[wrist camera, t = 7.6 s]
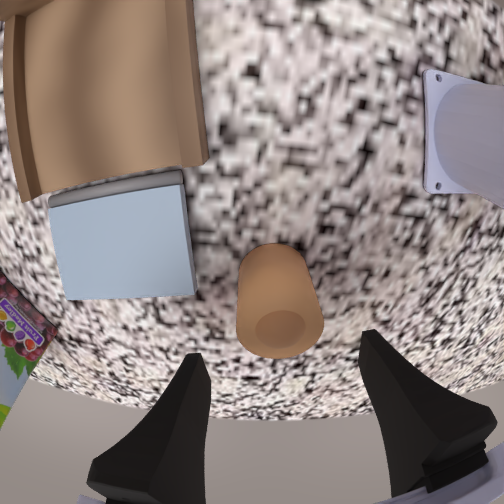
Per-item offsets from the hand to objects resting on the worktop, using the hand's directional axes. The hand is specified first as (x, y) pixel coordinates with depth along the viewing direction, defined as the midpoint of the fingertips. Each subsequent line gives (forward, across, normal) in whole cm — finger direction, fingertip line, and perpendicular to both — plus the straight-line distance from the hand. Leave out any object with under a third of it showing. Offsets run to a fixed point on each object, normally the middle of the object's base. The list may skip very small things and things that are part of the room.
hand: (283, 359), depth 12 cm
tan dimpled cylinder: (+7, 0, 0) cm, 7 cm away
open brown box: (+7, +8, -18) cm, 21 cm away
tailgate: (+6, +9, -8) cm, 13 cm away
